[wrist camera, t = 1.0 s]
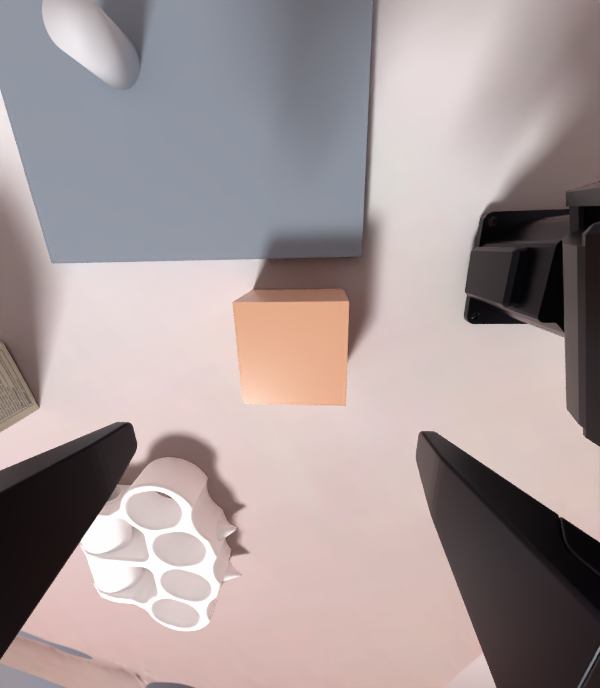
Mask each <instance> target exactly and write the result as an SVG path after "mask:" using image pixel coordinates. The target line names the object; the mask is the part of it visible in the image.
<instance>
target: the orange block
mask: <svg viewBox="0 0 600 688" xmlns="http://www.w3.org/2000/svg"><path fill="white" fill-rule="evenodd" d="M233 312H234V321H235V331H236V341H237V351H238V361H239V371H240V381H241V391H242V401H243V404H284V405H339V406H346V385H347V354H348V324H349V300H348V298H347V296H346V294H345V291H344V289H272V290H251V291H250V292H248V293H247V294H245V295H244V296H242V297H240V298H239V299H237V300H236V301H234V302H233Z"/></svg>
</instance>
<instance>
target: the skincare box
mask: <svg viewBox="0 0 600 688" xmlns="http://www.w3.org/2000/svg"><path fill="white" fill-rule="evenodd" d="M38 409H39V407H38V405H37V403H36V401H35V399H34V397H33V395H32V393H31V391H30V389H29V388H28V386H27V384H26V382H25V380H24V379H23V377H22V375H21V373H20V371H19V370H18V367H17V366H16V364H15V362H14V360H13V358H12V357H11V355H10V354H9V352H8V350H7V349H6V347H5V345H4V343H2V342H0V432H2V431H3V430H5V429H7V428H8V427H10V426H12V425H13V424H15V423H17V422H18V421H20V420H21V419H23V418H25V417H26V416H28V415H30V414H31V413H33V412H35V411H36V410H38Z"/></svg>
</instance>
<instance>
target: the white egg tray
mask: <svg viewBox="0 0 600 688" xmlns="http://www.w3.org/2000/svg"><path fill="white" fill-rule="evenodd" d="M207 480H208V477H207V476H206V475H205V473H204V472H203V471H202V470H201V469H200V468H198V467H197V466H196V465H194V464H193V463H191V462H189V461H186V460H184V459H180V458H175V457H163V458H159V459H156V460H154V461H152V462H150V463H149V464H148V465H147V466H146V467H145V468H144V470H143V471H142V472H141V473H140V475H139V476H138V477H137V478H136V480H135V481H134V482H133V484H132V485H122V484H117V486H116V488H115V490H114V491H113V493H112V495H111V496H110V498H109V500H108V501H107V503H106V504H105V506H104V507H103V509H102V510H101V512H100V513H99V515H98V516H97V518H96V519H95V520H94V522H93V523H92V525H91V526H90V528H89V529H88V531H87V532H86V534H85V535H84V537H83V538H82V540H81V542H82V543H81V544H80V545H81V548H82V550H83V551H84V553H85V554H86V557H87V560H88V563H89V566H90V569H91V572H92V575H93V578H94V580H95V581H94V582H93V583H94V586H95V588H96V589H97V591H98V592H99V594H100V596H101V597H103V598H106V599H108V600H111V601H114V602H120V603H130V604H136V605H138V606H139V607H141V608H143V609H145V610H147V611H148V613H149V614H150V615H151V616H152V617H153V618H154V619H155V620H156V621H157V622H159V623H160V624H162V625H164V626H166V627H169V628H171V629H175V630H180V631H194V630H198V629H201V628H203V627H205V626H206V625H207V624H208V623H209V622H210V620H211V618H212V615H213V612H214V608H215V605H216V602H217V598H218V595H219V592H220V588H221V584H222V582H223V581H226V580H229V579H232V578H235V577H238V576H241V575H242V574H241V573H240V572H239V571H238V570H237V569H236V568H235V567H234V566H233V565H232V563H231V562H230V561H229V557H230V554H231V548H230V547H229V546H228V544H227V542H226V537H227V536H228V535H230V534H231V533H232V532H234V531H235V530H236V529H238V528H237V527H235V526H233V525H231V524H229V523H228V521H227V519H226V517H225V515H224V512H223V510H222V508H220V507H219V506H218V505H216V504H215V503H214V502H213V500H212V499H211V497H210V496H209V493H208V490H207ZM155 491H158V492H162V493H165V494H167V495H169V496H170V497H172V498H167V497H164V496H162V495H160V494H158V493H157V492H155ZM132 526H133V527H132Z"/></svg>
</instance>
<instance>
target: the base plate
mask: <svg viewBox="0 0 600 688" xmlns="http://www.w3.org/2000/svg"><path fill="white" fill-rule="evenodd" d="M372 15H373V0H0V90H1V93H2V96H3V100H4V103H5V106H6V110H7V113H8V117H9V120H10V123H11V127H12V130H13V134H14V137H15V140H16V144H17V147H18V150H19V154H20V157H21V161H22V164H23V167H24V171H25V174H26V178H27V181H28V184H29V188H30V191H31V194H32V198H33V201H34V205H35V208H36V211H37V215H38V218H39V222H40V225H41V228H42V232H43V235H44V238H45V242H46V245H47V249H48V252H49V255H50V259H51V262H52V263H92V262H138V261H184V260H230V259H276V258H322V257H362V238H363V216H364V194H365V171H366V149H367V127H368V104H369V82H370V59H371V37H372Z"/></svg>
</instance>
